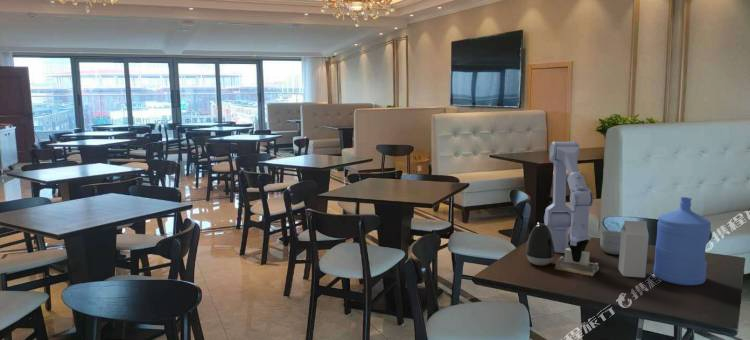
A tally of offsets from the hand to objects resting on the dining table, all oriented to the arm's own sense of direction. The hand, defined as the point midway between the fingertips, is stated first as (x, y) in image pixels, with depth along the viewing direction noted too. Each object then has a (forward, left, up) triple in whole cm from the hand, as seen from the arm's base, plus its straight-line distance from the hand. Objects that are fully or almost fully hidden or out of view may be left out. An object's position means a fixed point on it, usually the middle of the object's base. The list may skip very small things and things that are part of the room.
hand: (577, 260), depth 192 cm
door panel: (0, 0, -2) cm, 2 cm away
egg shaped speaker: (+2, -13, -3) cm, 14 cm away
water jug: (-11, +31, -3) cm, 33 cm away
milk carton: (-6, +17, -3) cm, 18 cm away
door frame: (0, 0, -3) cm, 3 cm away
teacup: (-28, +8, -3) cm, 29 cm away
